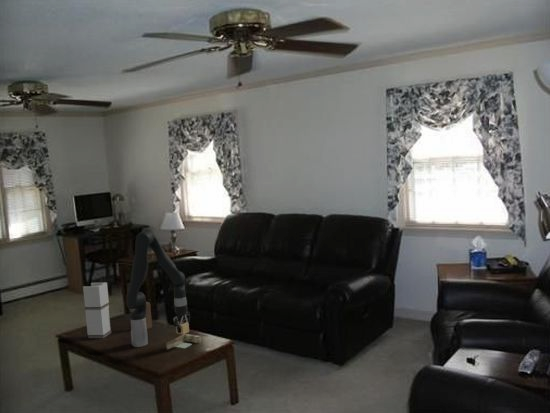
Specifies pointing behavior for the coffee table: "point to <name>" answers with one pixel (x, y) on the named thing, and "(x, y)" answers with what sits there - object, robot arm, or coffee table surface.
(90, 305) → the stacked white cabinet
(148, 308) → the wooden block
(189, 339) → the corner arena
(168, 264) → the robot arm
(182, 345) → the pad
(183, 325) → the ochre cube
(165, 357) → the coffee table surface
